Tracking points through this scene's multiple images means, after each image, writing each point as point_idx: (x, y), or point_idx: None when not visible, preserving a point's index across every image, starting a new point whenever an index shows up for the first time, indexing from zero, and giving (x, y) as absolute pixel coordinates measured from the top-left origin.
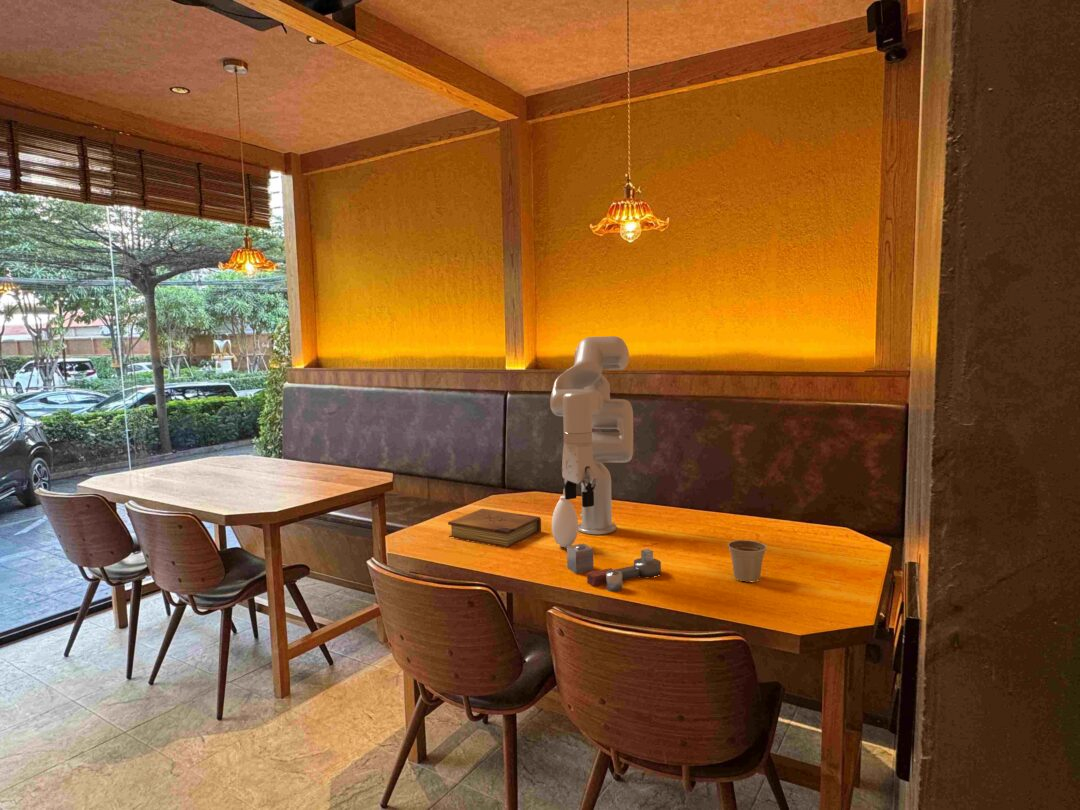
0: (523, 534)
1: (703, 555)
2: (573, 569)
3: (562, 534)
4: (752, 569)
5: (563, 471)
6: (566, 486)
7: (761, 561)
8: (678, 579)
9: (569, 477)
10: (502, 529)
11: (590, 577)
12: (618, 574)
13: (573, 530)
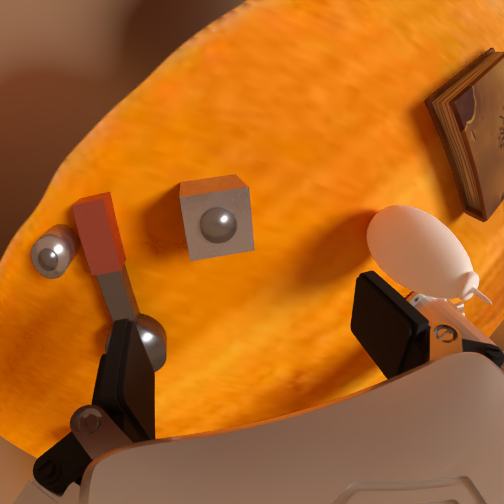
0: (460, 162)
1: (206, 427)
2: (197, 181)
3: (383, 224)
4: None
5: (493, 403)
6: (406, 324)
7: None
8: (97, 368)
9: (325, 447)
10: (467, 101)
11: (87, 200)
12: (39, 266)
13: (379, 258)
